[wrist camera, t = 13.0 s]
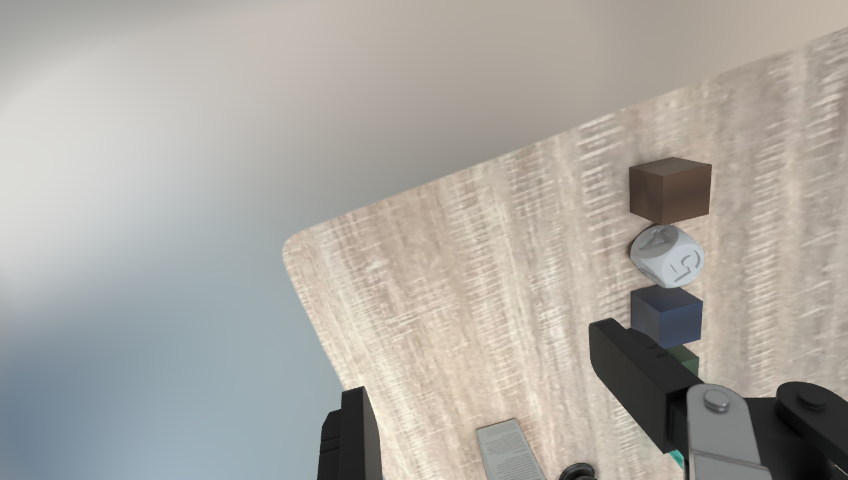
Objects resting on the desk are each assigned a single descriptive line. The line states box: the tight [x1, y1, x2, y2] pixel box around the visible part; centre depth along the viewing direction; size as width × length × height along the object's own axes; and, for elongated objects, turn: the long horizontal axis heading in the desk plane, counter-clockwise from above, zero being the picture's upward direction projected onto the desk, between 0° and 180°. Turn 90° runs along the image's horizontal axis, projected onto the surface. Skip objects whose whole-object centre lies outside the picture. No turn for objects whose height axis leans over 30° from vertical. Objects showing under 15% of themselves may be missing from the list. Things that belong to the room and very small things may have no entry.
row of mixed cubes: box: [630, 157, 712, 377], centre depth 45 cm, size 28×5×5 cm, turn 11°
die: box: [630, 224, 705, 288], centre depth 44 cm, size 5×5×5 cm
